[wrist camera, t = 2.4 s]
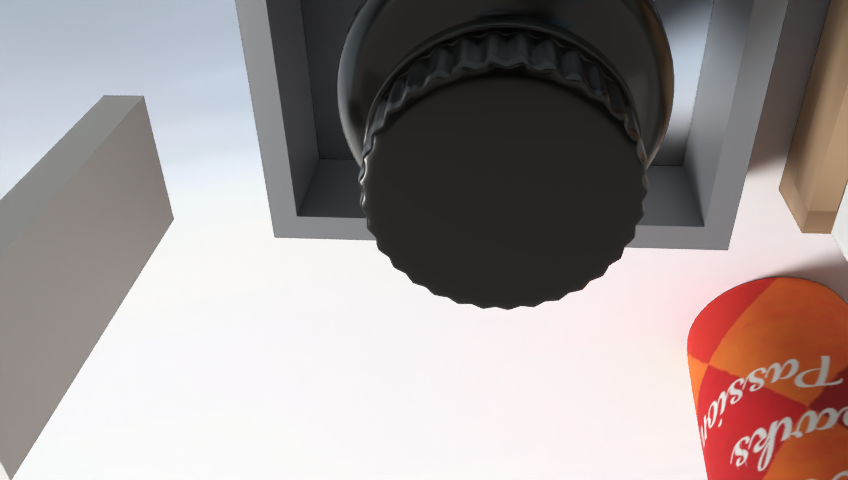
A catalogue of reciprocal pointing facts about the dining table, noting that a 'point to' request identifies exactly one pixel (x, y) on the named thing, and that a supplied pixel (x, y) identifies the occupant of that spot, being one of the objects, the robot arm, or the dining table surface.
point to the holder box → (668, 185)
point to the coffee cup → (772, 381)
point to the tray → (821, 132)
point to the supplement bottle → (504, 138)
